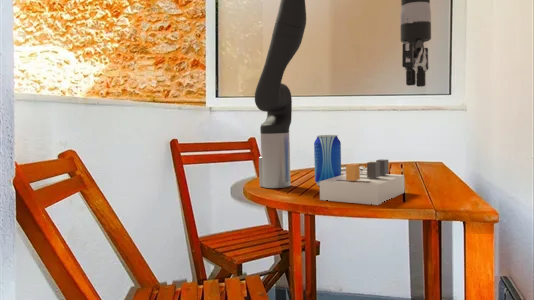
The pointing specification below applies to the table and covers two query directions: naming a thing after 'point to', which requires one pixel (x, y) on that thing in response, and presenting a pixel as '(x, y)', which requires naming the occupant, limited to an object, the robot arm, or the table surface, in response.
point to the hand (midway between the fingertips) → (416, 85)
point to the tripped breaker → (352, 172)
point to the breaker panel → (362, 189)
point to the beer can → (327, 157)
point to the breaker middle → (373, 169)
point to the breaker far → (383, 166)
